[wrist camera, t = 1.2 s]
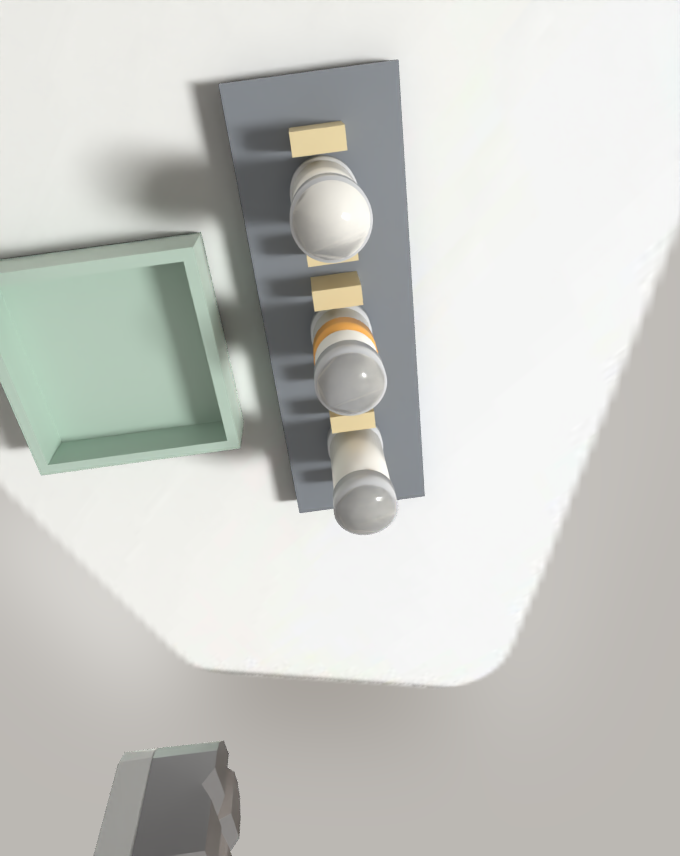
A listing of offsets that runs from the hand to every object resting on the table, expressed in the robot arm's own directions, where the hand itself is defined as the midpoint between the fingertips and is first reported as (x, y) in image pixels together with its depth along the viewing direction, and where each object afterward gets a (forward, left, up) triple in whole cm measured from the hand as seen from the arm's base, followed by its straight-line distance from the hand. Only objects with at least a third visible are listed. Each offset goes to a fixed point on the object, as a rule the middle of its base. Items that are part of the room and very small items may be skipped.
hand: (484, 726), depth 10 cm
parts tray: (+3, -13, -27) cm, 30 cm away
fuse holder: (+3, -1, -27) cm, 27 cm away
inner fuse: (-4, -1, -26) cm, 26 cm away
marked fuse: (+3, -1, -26) cm, 26 cm away
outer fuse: (+10, -1, -26) cm, 28 cm away
